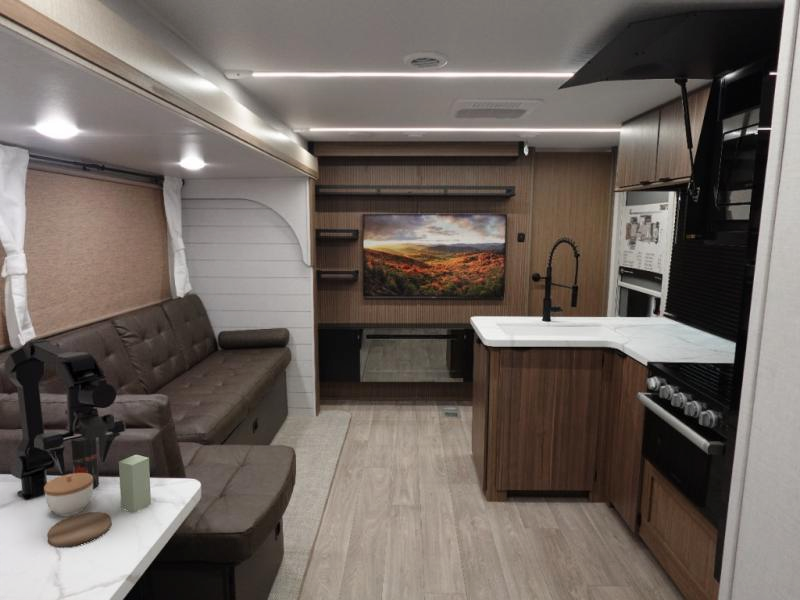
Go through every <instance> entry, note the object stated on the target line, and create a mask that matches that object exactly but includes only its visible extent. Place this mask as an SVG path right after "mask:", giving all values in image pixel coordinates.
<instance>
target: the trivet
mask: <svg viewBox="0 0 800 600" xmlns="http://www.w3.org/2000/svg"><path fill="white" fill-rule="evenodd" d="M111 517H112V516H110V514H108V513H107V512H102V511H87V512H82V513H76V514H73V515H70V516H69V517H68V516H67V517H65V518H63V519H61V520H59V521H58V522H56V523H55V524H54V525H52V526H51V527H50V528H49V529H48V531H47V533H46V534H47V535H46V537H47V543H48V545H50V546H51V547H53V546H54V547H53V548H58V547H59V548H61V547H63V549H64V547H69V548H74V547H73V546H75V547H79V546H78V545H80V546H82V545H81V544H83V545H85V544H84V543H86V544H88V543H87V542H89V543H91V542H90V541H92V540H94V539H96V540H98V539H100V538H101V537H103V536H104V535H106V534H107V533H108V532H109V530H110V529H111V528H110V527H112V518H111ZM109 528H110V529H109ZM107 531H108V532H107ZM106 532H107V533H106ZM103 534H104V535H103ZM102 535H103V536H102ZM100 536H101V537H100ZM99 537H100V538H99ZM97 538H98V539H97ZM94 541H95V540H94ZM92 542H93V541H92ZM61 549H62V548H61Z"/></svg>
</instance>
